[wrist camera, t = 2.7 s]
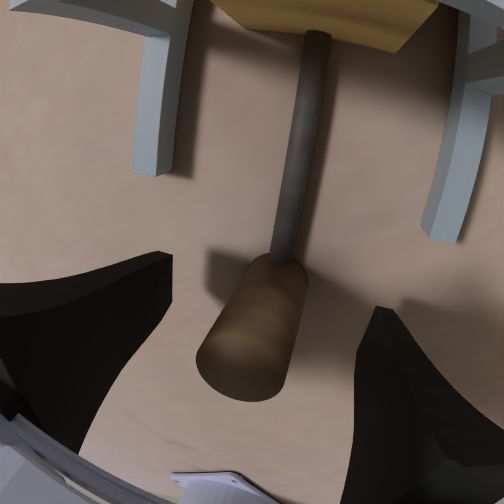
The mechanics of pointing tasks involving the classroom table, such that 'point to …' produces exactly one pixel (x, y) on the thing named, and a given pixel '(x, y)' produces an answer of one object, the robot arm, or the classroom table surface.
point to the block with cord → (291, 190)
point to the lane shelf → (170, 72)
